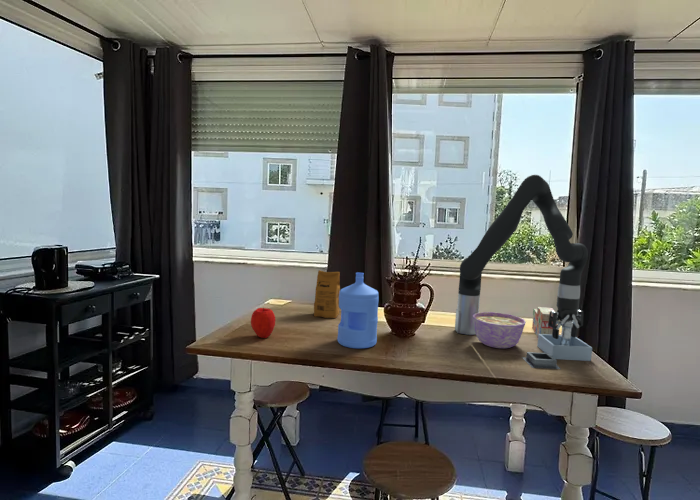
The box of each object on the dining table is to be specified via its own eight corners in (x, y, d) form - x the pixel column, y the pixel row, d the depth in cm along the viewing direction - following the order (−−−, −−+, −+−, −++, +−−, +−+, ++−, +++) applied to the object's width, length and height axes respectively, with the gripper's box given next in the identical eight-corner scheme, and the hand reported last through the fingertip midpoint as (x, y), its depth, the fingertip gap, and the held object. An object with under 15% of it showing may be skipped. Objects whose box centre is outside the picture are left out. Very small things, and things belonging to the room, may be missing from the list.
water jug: (356, 334, 182) (359, 268, 179) (384, 343, 171) (388, 274, 168) (329, 341, 171) (331, 271, 168) (357, 352, 160) (360, 278, 157)
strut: (555, 352, 165) (558, 318, 164) (562, 351, 167) (565, 317, 166) (566, 356, 161) (569, 321, 160) (573, 354, 164) (576, 319, 162)
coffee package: (317, 311, 216) (318, 268, 213) (341, 314, 213) (343, 270, 210) (310, 316, 206) (312, 271, 204) (335, 319, 203) (337, 273, 201)
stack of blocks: (531, 327, 202) (534, 302, 201) (546, 329, 201) (548, 303, 199) (539, 341, 182) (542, 313, 180) (555, 343, 180) (558, 314, 179)
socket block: (531, 370, 149) (532, 360, 148) (521, 359, 159) (522, 350, 158) (561, 371, 148) (562, 362, 148) (549, 361, 158) (549, 352, 158)
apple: (245, 336, 173) (245, 306, 172) (265, 331, 181) (266, 303, 179) (259, 342, 167) (260, 311, 165) (280, 337, 174) (280, 307, 172)
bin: (551, 361, 158) (553, 345, 158) (537, 348, 172) (538, 333, 171) (590, 363, 158) (592, 347, 157) (572, 350, 172) (574, 335, 171)
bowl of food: (465, 337, 183) (467, 310, 182) (513, 339, 182) (515, 313, 181) (478, 354, 163) (480, 324, 162) (531, 356, 163) (534, 326, 161)
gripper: (575, 293, 168) (571, 333, 170) (545, 294, 164) (542, 335, 166) (591, 297, 161) (587, 339, 163) (560, 298, 157) (556, 342, 158)
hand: (564, 337), depth 164 cm, fingers open, 8 cm apart
